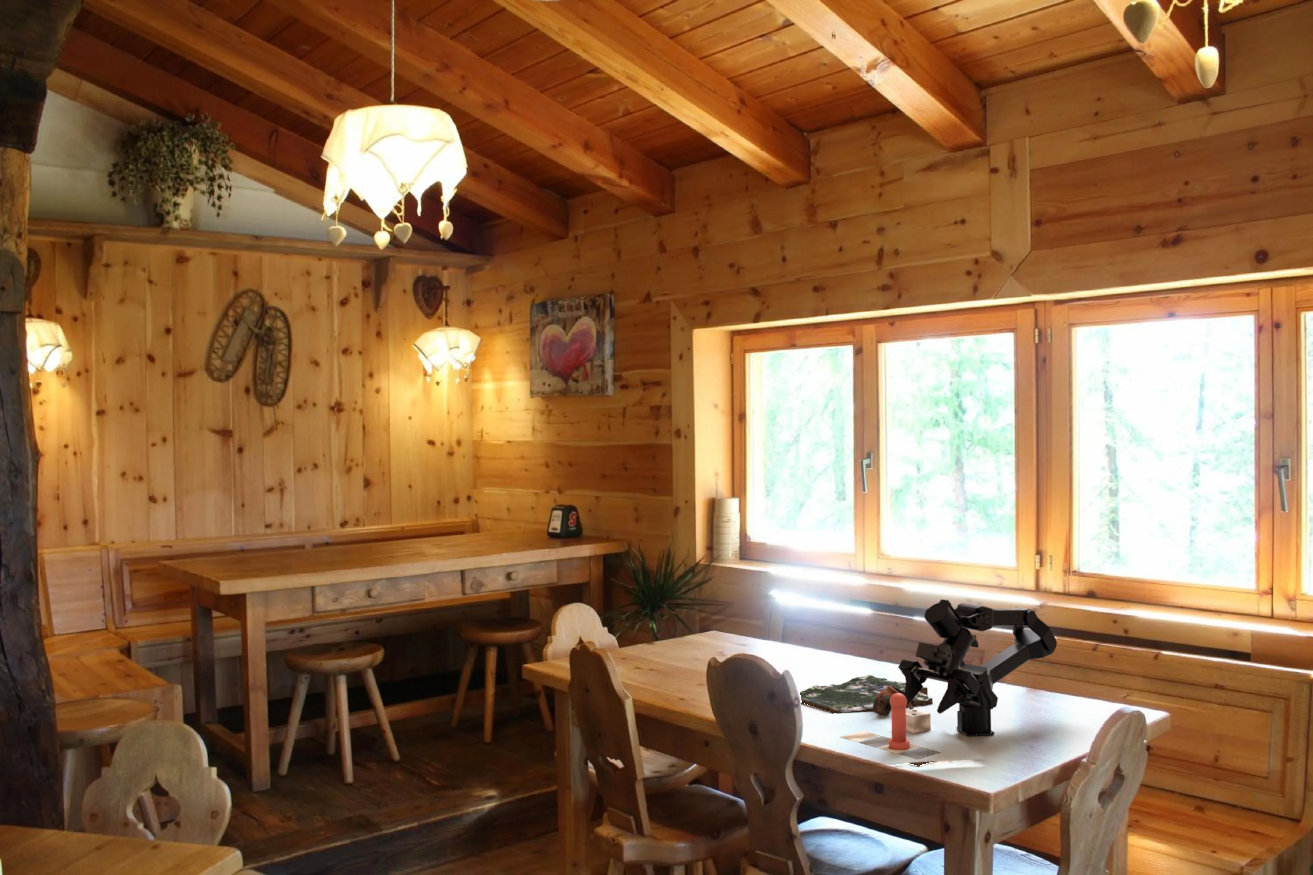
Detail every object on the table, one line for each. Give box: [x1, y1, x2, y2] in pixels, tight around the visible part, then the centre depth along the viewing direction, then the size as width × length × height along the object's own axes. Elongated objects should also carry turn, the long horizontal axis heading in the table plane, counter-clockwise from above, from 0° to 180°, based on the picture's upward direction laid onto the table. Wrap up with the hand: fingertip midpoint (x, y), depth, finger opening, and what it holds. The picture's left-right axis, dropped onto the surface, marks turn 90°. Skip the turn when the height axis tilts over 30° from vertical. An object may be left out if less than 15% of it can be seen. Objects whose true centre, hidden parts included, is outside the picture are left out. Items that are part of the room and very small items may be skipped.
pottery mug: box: [871, 685, 915, 716], centre depth 251 cm, size 12×10×8 cm
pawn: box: [888, 693, 911, 751], centre depth 222 cm, size 4×4×12 cm
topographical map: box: [799, 674, 933, 715], centre depth 269 cm, size 26×33×3 cm
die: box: [906, 708, 932, 734], centre depth 236 cm, size 5×5×5 cm
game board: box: [840, 730, 942, 767], centre depth 224 cm, size 23×9×1 cm, turn 37°
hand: (921, 708), depth 226 cm, fingers open, 9 cm apart
